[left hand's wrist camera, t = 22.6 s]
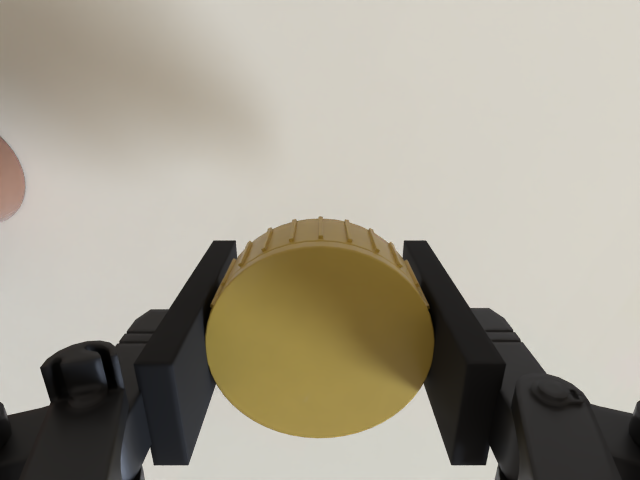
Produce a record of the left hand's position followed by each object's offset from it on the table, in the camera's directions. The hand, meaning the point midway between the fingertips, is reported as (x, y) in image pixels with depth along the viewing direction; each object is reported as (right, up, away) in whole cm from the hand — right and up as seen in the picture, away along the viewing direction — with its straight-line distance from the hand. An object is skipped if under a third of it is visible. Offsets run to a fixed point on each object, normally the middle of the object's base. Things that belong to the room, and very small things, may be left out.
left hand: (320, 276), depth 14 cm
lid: (0, -1, -4) cm, 4 cm away
